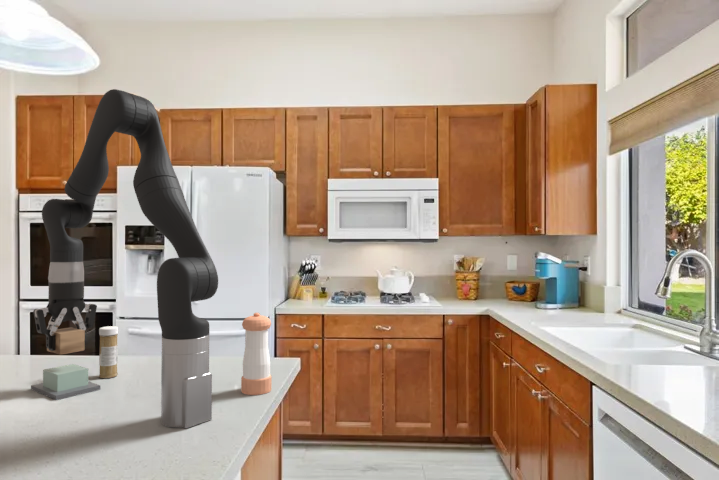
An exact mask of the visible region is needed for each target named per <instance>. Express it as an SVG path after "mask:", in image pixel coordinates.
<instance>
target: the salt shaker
mask: <svg viewBox="0 0 719 480" xmlns="http://www.w3.org/2000/svg"><path fill="white" fill-rule="evenodd" d="M241 323H242V324H241V326H242V329H243V330H244V331H245V333H244V334H245V335H244V337H245V339H244V340H245V341H244V342H245V343H244V344H245V345H244V352H243V360H242V376H241V379H240V383H241V385H240V386H241V387H240V388H241V389H240V390H241V391H240V392H241V393H242V394H244V395H248V396H257V395H258V396H260V395H264V394H268V393H270V392H271V391H272V378H273V377H272V375H271V358H270V351H269V329H270V328H271V326H272V321H271V319H270V318H269V317H267V316H266V315H261V314H260V313H259V312H254V313H253V315H249V316H247V317H245V318H244V319H243V320H242V322H241Z"/></svg>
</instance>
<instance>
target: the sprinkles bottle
mask: <svg viewBox="0 0 719 480" xmlns="http://www.w3.org/2000/svg"><path fill="white" fill-rule="evenodd" d="M98 334H99V356H98V357H99V362H98V363H99V364H98V365H99V375H98V377H99V378H100V379H111V378H112V379H113V378H115V377H117V376H118V375H119V374H118V355H119V354H118V353H119V352H118V349H119V348H118V336H119V335H118V334H119V326H115V325H112V326H111V325H110V326H109V325H107V326H102V327H99V329H98Z"/></svg>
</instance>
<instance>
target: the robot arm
mask: <svg viewBox="0 0 719 480" xmlns="http://www.w3.org/2000/svg"><path fill="white" fill-rule="evenodd" d="M160 123H161V122H160V118H159V115H158V112H157V110H156V107H155V105H154V104H153V103H152V102H151V100H149V99H147V98H145V97H142V96H140V95H136V94H134V93H130V92H128V91H124V90H121V89H116V88H114V89H109V90H108V91H106V92H105V93H104V94H103V96H102V97H101V99H100V101H99V103H98V105H97V107H96V110H95V113H94V115H93V119H92V121H91V124H90V127H89V131H88V133H87V136H86V140H85V143H84V146H83V149H82V151H81V154H80V157H79V159H78V161H77V163H76V165H75V167H74V169H73V170H72V171H71V174H70V175H69V177H68V179H67V181H66V183H65V185H64V192H65V194H66V195H67V196H68V197H69V198H70V199H64V198H63V199H61V198H51V199H48V200H47V201H46V202H45V203H44V205H43V206H42V210H41V217H42V222H43V223H42V224H43V226H44V229H45V232H46V235H47V239H48V242H49V247H50V248H49V262H50V263H49V269H48V276H47V280H48V297H47V298H48V299H47V300H48V303H47V305H46V307H42V308H35V309H33V311H32V312H33V317H34V323H35V327H36V332H37V333H38V334H42V335H45V347H46V349H47V348H48V349H49V350H50V351H55V349H56V335H54V334H55V332H56V330H57V329H59V327H60V325H61V324H62V323H63V322H64V323H65V322H67V321H70V322H72V323H73V324H74V326H75V328H76V329H81V330H85V331H87V330H88V329H90V328H93V327H94V325H95V324H94V323H95V319H96V313H97V308H98V306H97V304H96V303H85V301H84V298H85V268H84V243H83V240H81V239H79V238H77V237H73V236H70V235H69V234H68V232H67V230H66V229H82V228H85V227H87V225H89V224H90V223H91V221H92V218H93V214H94V213H93V212H94V209H95V203H96V199H97V196H98V195H99V193H100V192H101V190H102V188H103V187H104V184H105V183H106V181H107V179H108V177H109V171H110V169H109V168H110V167H109V160H108V153H107V152H108V151H107V147H108V143H109V141H110V139H111V137H112V136H113V135H114V133H115V132H116V133H119V134H122V135H128V136H132V137H133V138H134V139H135V141H136V143H137V146H138V149H139V152H140V158H139V159H140V160H139V161H138V163H137V167H136V170H135V172H134V175H133V181H132V183H133V189H134V194H135V196H136V199H137V202H138V204H139V206H140V210H141V212H142V214H143V215H144V216H145V218H146V219H147V220H148V221H149V222H150V223H151V224H152V225H153V226H154V228H155V229H157V231H159V232H160V233H161V234H162V235H163V236H164V237H165V238H166V239H167V240H168V241H169V243H170V244H171V246H172V247H173V248H174V251H176V254H177V257H172V258H168V259H166V260H164V261H163V262H162V264H161V265H160V266H159V268H158V272H157V275H156V297H157V312H158V315H157V316H158V322H159V326H160V328H161V380H160V381H161V382H160V383H161V389H160V390H161V391H160V394H161V395H160V396H161V397H160V400H161V402H160V404H161V405H160V407H161V408H160V410H161V412H160V413H161V414H160V415H161V418H160V419H161V420H160V421H161V424H162V426H165V427H170V428H184V429H188V428H191V427H193V426H197V425H199V424H202V423H205V422H208V421H210V420H213V419H212V418H213V417H212V416H213V415H212V414H213V412H212V411H213V409H212V408H213V405H212V404H213V403H212V402H213V401H212V400H213V397H212V395H213V392H212V391H213V374H212V373H211V372H210V322H209V320H207V319H205V318H203V317H198V316H196V315H195V314H194V313H193V309H192V302H200V301H205V300H208V299H211V298H212V297H213V296H215V294H216V293H217V291H218V288H219V275H218V271H217V268H216V265H215V262H214V260H213V259H212V256H211V255H210V252H209V250H208V249H207V246H206V245H205V243H204V241H203V239H202V237H201V234H200V233H199V231H198V228H197V226H196V224H195V221H194V219H193V216H192V214H191V212H190V209H189V207H188V203H187V201H186V197H185V195H184V192H183V189H182V187H181V184H180V182H179V179H178V177H177V174H176V171H175V169H174V166H173V163H172V161H171V157H170V155H169V153H168V150H167V149H168V148H167V145H166V143H165V139H164V136H163V130H162V126H161V124H160ZM83 311H85V313H86V314H85V316H84V317H85V318H83V317H82V315H81V313H83ZM47 314H49V315H50V319H49V321H48V325H47V324H46V319H45V317H46V316H47Z"/></svg>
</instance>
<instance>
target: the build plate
mask: <svg viewBox="0 0 719 480" xmlns="http://www.w3.org/2000/svg"><path fill="white" fill-rule="evenodd" d="M30 389H31V390H32V391H34V392H37V393H39V394H41V395H43V396H45V397H48V398H50V399H51V400H52V399H53V400H55V401H58V400H63V399H66V398H70V397H74V396H79V395H83V394H86V393H91V392H95V391H99V390H101V384H98V383H95V382H91V381H89V368H87V367H84V366H82V365H78V364H75V363H70V364H67V365H61V366H56V367H50V368H45V369H42V382H40V383H36V384H31V385H30Z"/></svg>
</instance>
